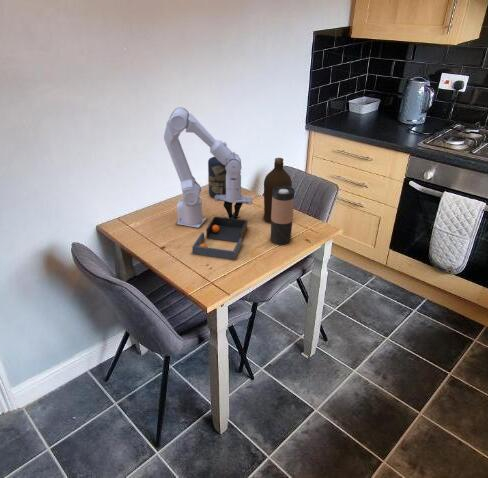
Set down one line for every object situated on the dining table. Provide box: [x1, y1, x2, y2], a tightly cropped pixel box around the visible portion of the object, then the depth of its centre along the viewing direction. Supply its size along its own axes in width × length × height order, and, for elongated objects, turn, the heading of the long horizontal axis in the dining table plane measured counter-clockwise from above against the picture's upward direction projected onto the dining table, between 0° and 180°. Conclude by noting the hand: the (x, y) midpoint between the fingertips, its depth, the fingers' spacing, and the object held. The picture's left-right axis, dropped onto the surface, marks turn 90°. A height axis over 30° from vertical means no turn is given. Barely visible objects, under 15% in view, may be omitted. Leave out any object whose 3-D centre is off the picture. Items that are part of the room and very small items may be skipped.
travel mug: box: [270, 186, 296, 246], centre depth 153 cm, size 8×8×20 cm
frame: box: [192, 232, 243, 261], centre depth 152 cm, size 10×15×3 cm
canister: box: [207, 156, 227, 198], centre depth 189 cm, size 10×10×18 cm
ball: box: [212, 225, 220, 233], centre depth 162 cm, size 3×3×3 cm
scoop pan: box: [205, 211, 248, 243], centre depth 165 cm, size 19×13×4 cm
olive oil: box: [263, 157, 293, 224], centre depth 166 cm, size 11×11×25 cm
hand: (233, 218), depth 170 cm, fingers closed on scoop pan, 2 cm apart
